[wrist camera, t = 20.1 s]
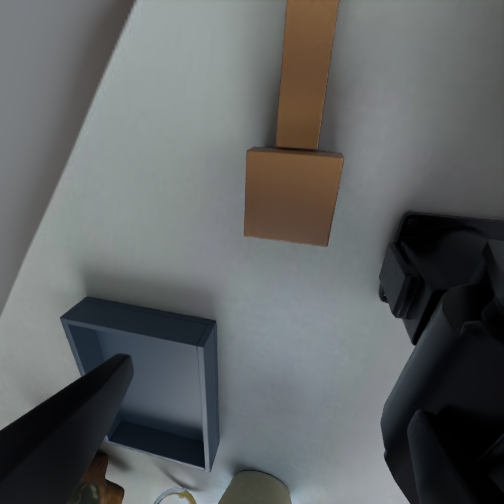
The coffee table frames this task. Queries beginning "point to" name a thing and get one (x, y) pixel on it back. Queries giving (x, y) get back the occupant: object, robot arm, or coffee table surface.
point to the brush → (297, 138)
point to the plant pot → (255, 490)
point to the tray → (154, 377)
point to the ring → (179, 491)
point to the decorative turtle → (97, 485)
